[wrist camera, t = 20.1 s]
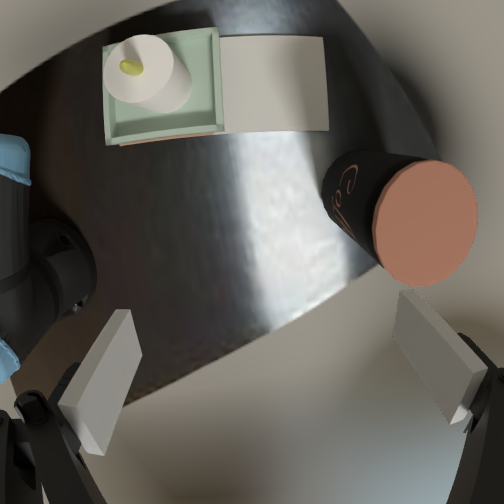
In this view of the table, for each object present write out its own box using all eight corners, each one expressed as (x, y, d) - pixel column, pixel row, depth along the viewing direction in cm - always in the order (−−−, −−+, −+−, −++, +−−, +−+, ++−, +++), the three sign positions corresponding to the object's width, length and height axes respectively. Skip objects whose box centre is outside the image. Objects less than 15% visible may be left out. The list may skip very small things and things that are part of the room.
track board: (121, 146, 36) (119, 146, 36) (117, 54, 32) (116, 53, 32) (328, 130, 37) (329, 130, 36) (321, 38, 33) (322, 37, 32)
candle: (171, 50, 30) (130, 0, 16) (203, 90, 32) (178, 55, 18) (128, 84, 31) (65, 56, 17) (158, 124, 33) (106, 114, 19)
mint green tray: (119, 144, 36) (105, 145, 32) (116, 54, 32) (103, 46, 28) (225, 131, 36) (223, 130, 32) (220, 38, 32) (218, 26, 28)
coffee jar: (317, 150, 38) (375, 158, 21) (393, 150, 38) (481, 162, 21) (320, 232, 41) (371, 295, 24) (392, 227, 41) (470, 279, 24)
